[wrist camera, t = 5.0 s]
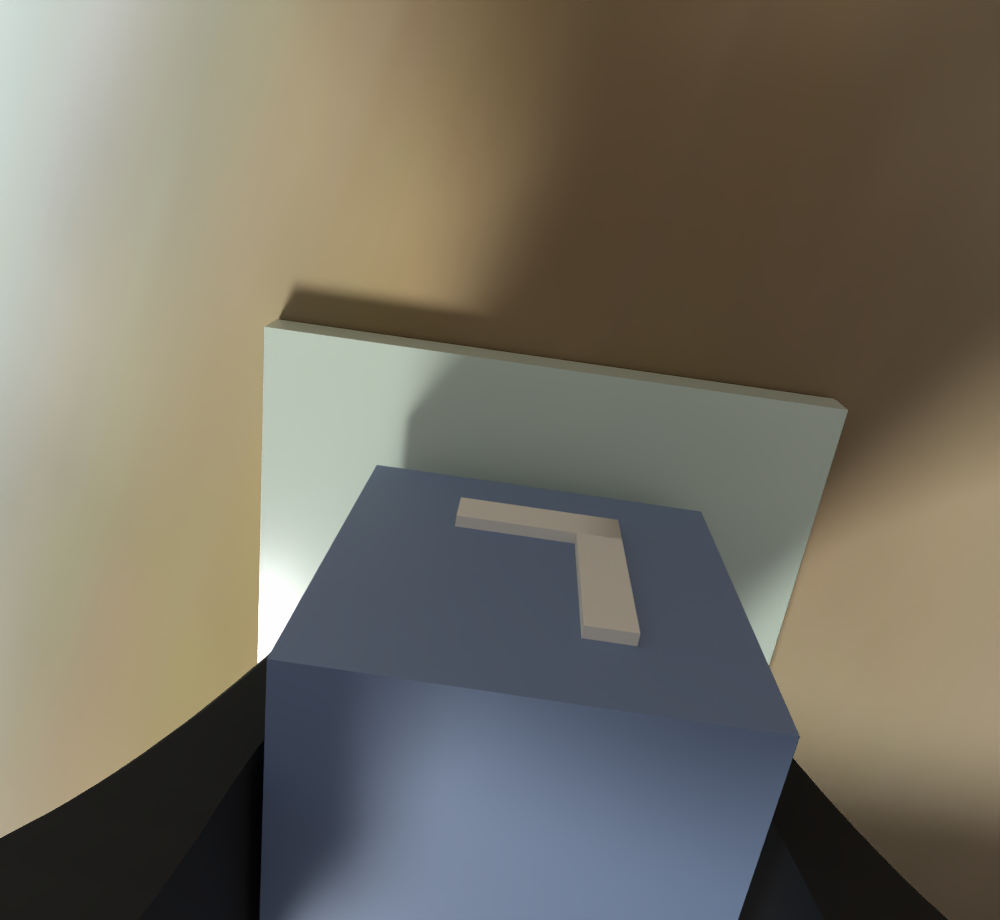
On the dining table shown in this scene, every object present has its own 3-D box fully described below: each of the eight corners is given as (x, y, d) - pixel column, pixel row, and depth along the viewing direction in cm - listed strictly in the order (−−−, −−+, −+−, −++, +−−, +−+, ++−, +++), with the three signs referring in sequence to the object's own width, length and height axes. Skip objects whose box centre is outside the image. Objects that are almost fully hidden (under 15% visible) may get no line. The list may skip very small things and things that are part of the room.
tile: (706, 822, 16) (712, 847, 15) (265, 758, 16) (255, 780, 15) (834, 398, 12) (847, 410, 12) (277, 319, 12) (264, 326, 12)
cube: (637, 768, 14) (683, 1081, 9) (355, 726, 14) (257, 1018, 9) (703, 502, 12) (804, 723, 7) (377, 454, 12) (267, 645, 7)
